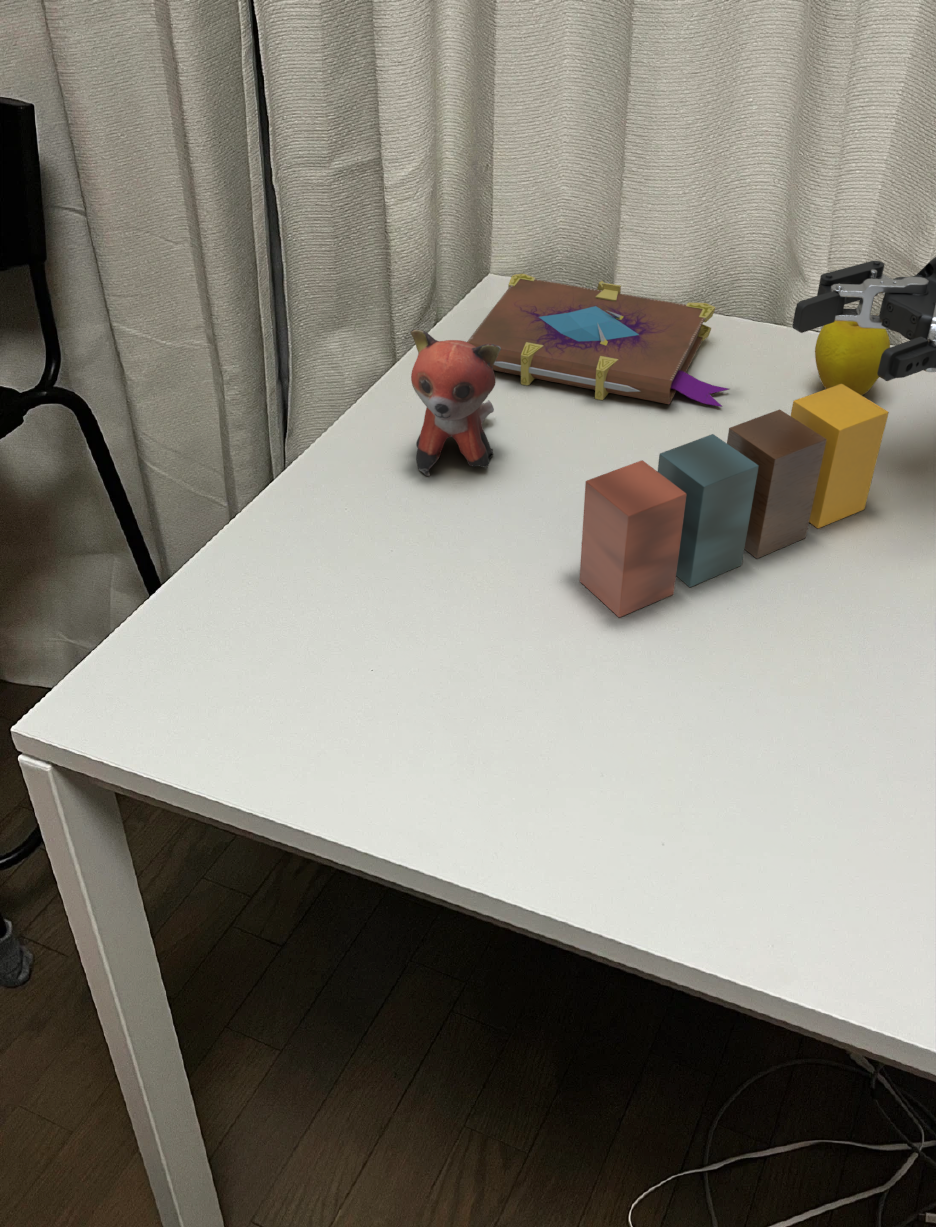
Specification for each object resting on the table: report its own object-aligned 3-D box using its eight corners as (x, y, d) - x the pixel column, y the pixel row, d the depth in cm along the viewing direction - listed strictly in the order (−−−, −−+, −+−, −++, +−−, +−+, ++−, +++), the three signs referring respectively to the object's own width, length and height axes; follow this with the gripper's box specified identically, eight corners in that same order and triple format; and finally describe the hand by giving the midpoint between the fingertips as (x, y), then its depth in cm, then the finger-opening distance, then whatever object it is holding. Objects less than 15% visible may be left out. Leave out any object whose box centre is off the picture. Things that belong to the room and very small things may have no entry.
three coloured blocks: (762, 506, 96) (779, 408, 90) (805, 538, 93) (827, 438, 87) (578, 581, 89) (585, 480, 83) (619, 618, 86) (628, 516, 80)
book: (715, 430, 106) (721, 381, 103) (459, 379, 114) (457, 332, 110) (756, 339, 117) (763, 293, 114) (520, 298, 125) (520, 254, 121)
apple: (892, 404, 108) (913, 323, 103) (827, 413, 107) (844, 332, 102) (859, 370, 113) (877, 291, 107) (796, 379, 112) (811, 299, 106)
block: (820, 479, 99) (841, 383, 93) (864, 509, 96) (889, 411, 90) (774, 497, 97) (793, 400, 91) (817, 528, 94) (839, 430, 88)
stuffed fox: (520, 421, 106) (522, 296, 99) (492, 492, 98) (492, 361, 90) (438, 412, 108) (433, 287, 100) (404, 481, 99) (396, 351, 92)
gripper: (933, 210, 94) (778, 256, 88) (1089, 275, 85) (928, 333, 78) (911, 299, 99) (763, 349, 92) (1056, 370, 89) (902, 431, 83)
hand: (838, 341), depth 85 cm, fingers open, 8 cm apart
